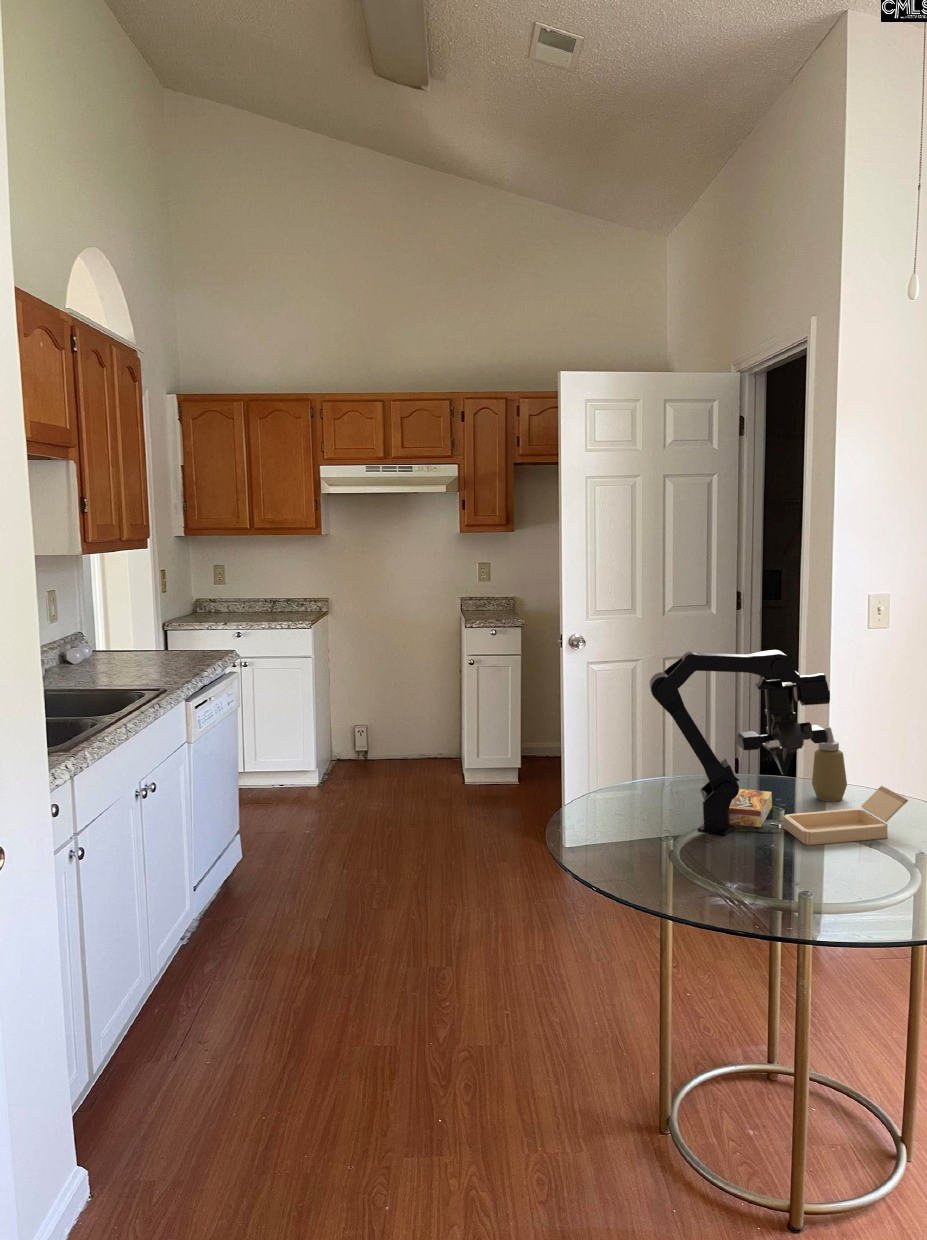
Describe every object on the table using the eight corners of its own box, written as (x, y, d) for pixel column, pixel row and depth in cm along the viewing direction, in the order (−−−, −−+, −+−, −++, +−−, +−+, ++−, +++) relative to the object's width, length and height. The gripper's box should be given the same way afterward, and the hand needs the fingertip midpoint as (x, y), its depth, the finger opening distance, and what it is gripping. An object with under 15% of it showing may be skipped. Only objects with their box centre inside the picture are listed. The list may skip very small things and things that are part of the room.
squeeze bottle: (813, 803, 214) (812, 731, 212) (810, 793, 221) (809, 723, 219) (849, 804, 211) (848, 731, 209) (845, 794, 219) (844, 723, 217)
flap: (884, 820, 189) (906, 798, 189) (860, 806, 199) (881, 785, 199) (886, 822, 189) (908, 800, 189) (862, 807, 199) (883, 787, 199)
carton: (805, 846, 187) (805, 832, 187) (781, 827, 199) (781, 814, 199) (888, 838, 188) (888, 825, 188) (859, 820, 200) (859, 807, 200)
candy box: (735, 803, 217) (722, 824, 203) (734, 787, 216) (721, 807, 203) (772, 807, 212) (761, 828, 199) (772, 790, 212) (760, 810, 199)
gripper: (748, 719, 187) (753, 789, 189) (836, 710, 187) (840, 781, 188) (733, 708, 198) (738, 774, 200) (816, 699, 198) (820, 766, 199)
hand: (784, 774), depth 197 cm, fingers closed
